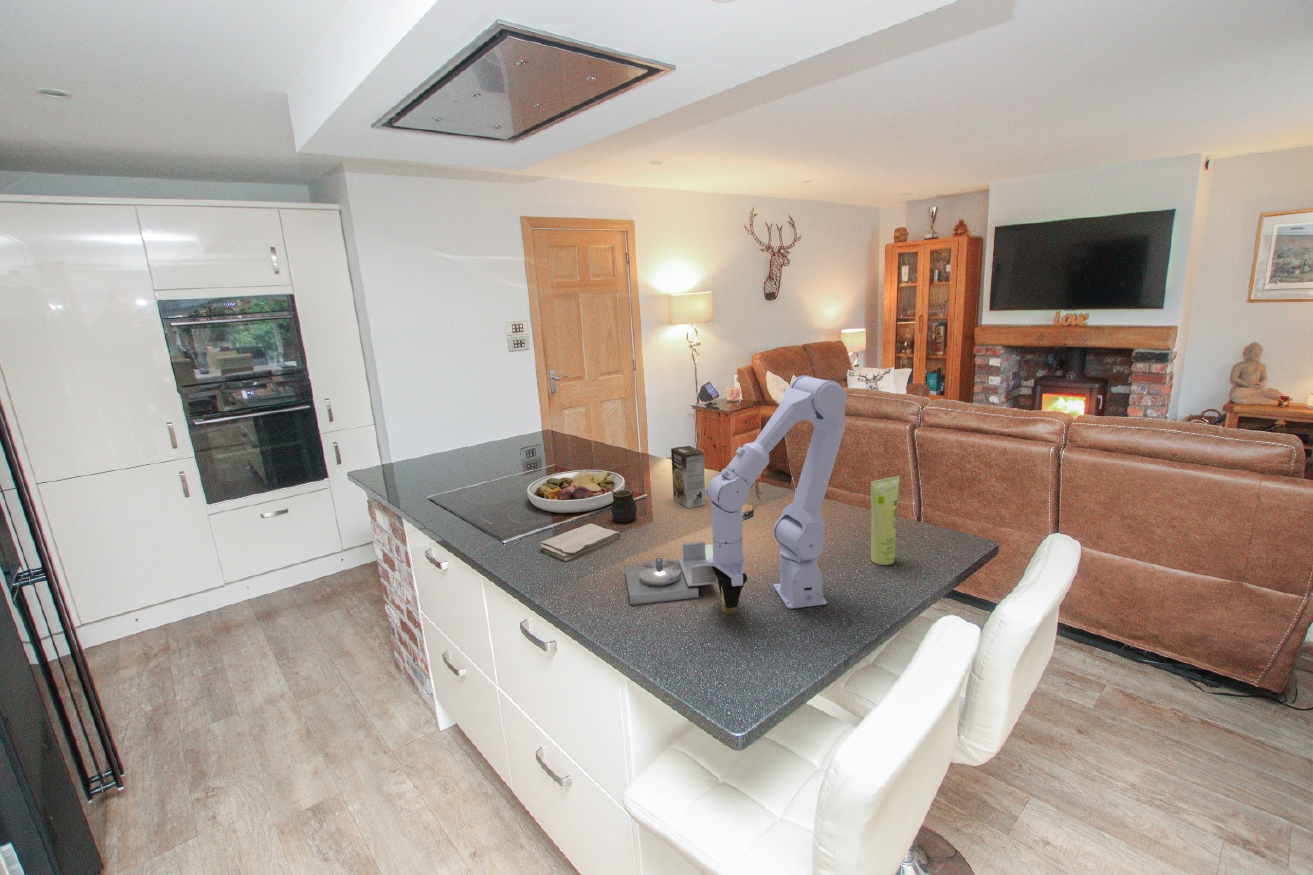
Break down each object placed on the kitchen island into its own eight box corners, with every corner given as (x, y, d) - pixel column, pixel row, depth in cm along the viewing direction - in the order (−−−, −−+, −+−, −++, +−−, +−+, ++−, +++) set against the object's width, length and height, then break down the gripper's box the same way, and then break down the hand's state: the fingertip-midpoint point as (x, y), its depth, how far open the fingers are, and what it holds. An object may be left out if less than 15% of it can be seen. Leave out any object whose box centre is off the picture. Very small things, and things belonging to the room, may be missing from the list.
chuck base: (698, 597, 122) (698, 588, 122) (630, 605, 121) (630, 596, 120) (687, 567, 136) (686, 559, 135) (625, 573, 134) (625, 565, 134)
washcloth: (537, 552, 150) (536, 540, 149) (592, 529, 162) (591, 518, 161) (567, 565, 142) (565, 553, 141) (622, 540, 154) (621, 529, 153)
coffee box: (672, 499, 180) (670, 448, 176) (691, 495, 183) (689, 444, 179) (686, 508, 172) (684, 454, 168) (706, 504, 175) (704, 451, 171)
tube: (892, 568, 130) (895, 483, 125) (867, 564, 132) (870, 480, 128) (896, 558, 135) (899, 475, 130) (872, 554, 137) (875, 473, 132)
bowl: (524, 491, 196) (521, 469, 194) (613, 478, 205) (611, 456, 203) (534, 523, 168) (531, 497, 166) (636, 507, 177) (635, 481, 175)
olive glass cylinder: (738, 612, 116) (738, 582, 114) (723, 614, 116) (722, 584, 114) (735, 605, 119) (734, 575, 117) (720, 606, 118) (719, 576, 117)
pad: (742, 561, 137) (742, 559, 137) (699, 565, 136) (699, 564, 136) (732, 543, 147) (732, 542, 147) (692, 547, 146) (691, 546, 146)
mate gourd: (641, 521, 165) (639, 487, 162) (615, 527, 162) (612, 492, 160) (632, 512, 171) (630, 479, 169) (607, 518, 169) (604, 484, 166)
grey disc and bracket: (641, 591, 121) (640, 573, 120) (636, 564, 133) (635, 547, 132) (716, 583, 123) (716, 565, 122) (704, 557, 135) (703, 540, 134)
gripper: (699, 525, 120) (701, 586, 123) (715, 555, 106) (717, 624, 109) (733, 522, 121) (735, 583, 124) (753, 551, 107) (754, 619, 110)
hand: (729, 602), depth 117 cm, fingers closed on olive glass cylinder, 3 cm apart
